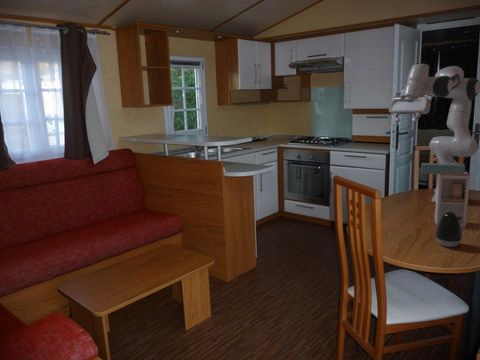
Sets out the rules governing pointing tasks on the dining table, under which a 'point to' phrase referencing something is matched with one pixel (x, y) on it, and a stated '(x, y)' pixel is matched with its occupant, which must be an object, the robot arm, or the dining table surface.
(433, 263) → the dining table surface
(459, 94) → the robot arm
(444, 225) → the black roly-poly toy
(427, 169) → the long teal rectangular block
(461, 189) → the terracotta jar
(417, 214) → the dining table surface
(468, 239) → the dining table surface
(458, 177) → the shelf unit
